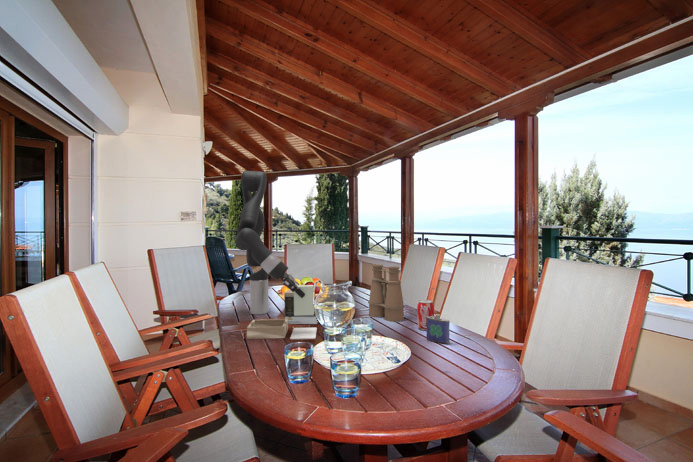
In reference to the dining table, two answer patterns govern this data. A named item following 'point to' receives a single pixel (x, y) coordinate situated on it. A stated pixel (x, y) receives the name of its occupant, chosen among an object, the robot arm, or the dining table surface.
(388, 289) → the binoculars
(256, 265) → the robot arm
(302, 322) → the grey electronic device
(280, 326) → the wooden box
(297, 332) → the grey mat
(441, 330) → the flask
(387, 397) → the dining table surface
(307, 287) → the cover plate
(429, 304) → the soda can
